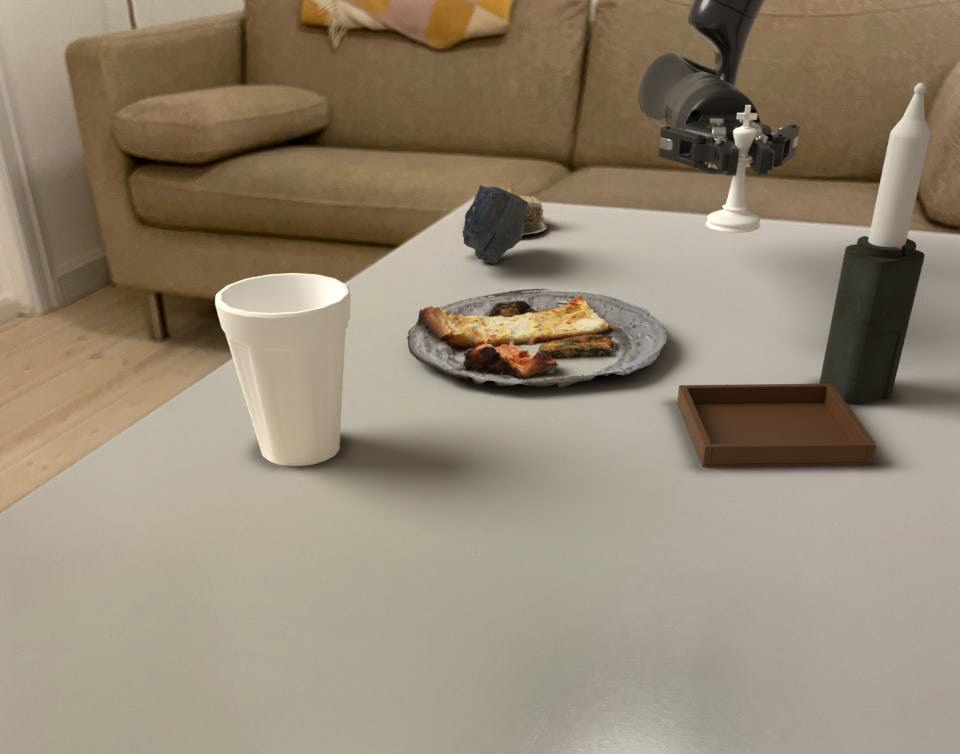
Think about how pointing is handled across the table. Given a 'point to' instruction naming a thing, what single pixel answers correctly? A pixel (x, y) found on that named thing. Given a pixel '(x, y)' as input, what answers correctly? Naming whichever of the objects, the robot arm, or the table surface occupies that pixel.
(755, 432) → the serving tray
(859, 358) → the candle
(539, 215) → the cake
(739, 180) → the chess piece
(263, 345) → the cup
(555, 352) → the food plate
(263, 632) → the table surface
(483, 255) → the stone
